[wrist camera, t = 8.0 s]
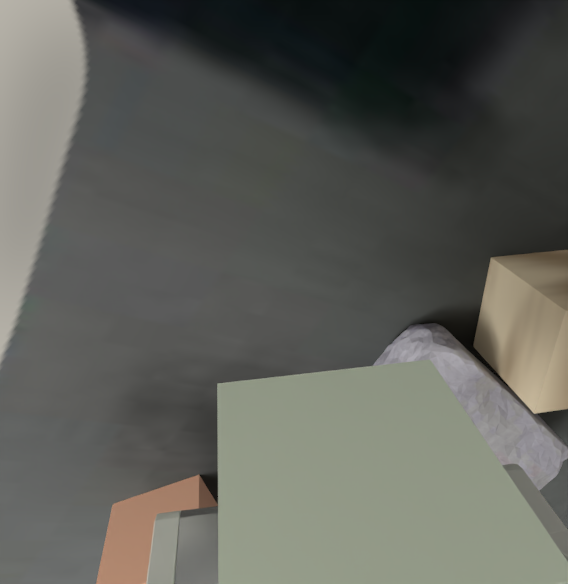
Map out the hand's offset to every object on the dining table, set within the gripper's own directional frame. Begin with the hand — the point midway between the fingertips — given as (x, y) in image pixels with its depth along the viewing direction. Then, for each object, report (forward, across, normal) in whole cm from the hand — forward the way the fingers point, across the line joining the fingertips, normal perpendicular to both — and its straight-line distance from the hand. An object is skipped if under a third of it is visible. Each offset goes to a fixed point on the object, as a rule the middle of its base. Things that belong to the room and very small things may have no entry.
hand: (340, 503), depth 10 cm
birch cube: (+11, -12, +2) cm, 17 cm away
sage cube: (+2, 0, 0) cm, 2 cm away
